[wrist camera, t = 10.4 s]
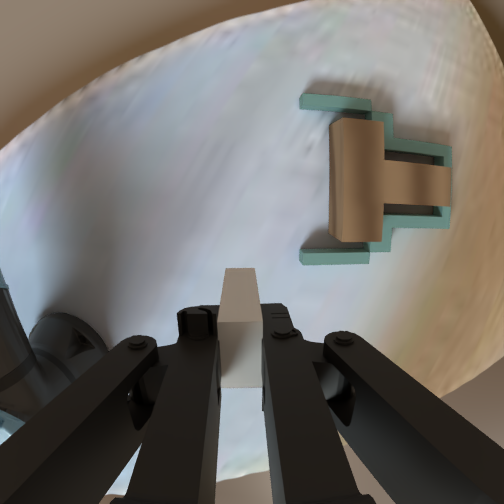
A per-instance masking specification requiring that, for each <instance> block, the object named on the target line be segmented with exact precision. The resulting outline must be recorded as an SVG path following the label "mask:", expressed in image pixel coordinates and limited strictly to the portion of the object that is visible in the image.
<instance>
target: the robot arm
mask: <svg viewBox="0 0 504 504" xmlns="http://www.w3.org/2000/svg"><path fill="white" fill-rule="evenodd" d="M8 289H9V286H8V285H7V284H6V282H5V280H4V277H3V275H2V272H1V269H0V504H99V502H100V501H101V500H102V498H103V497H104V495H105V494H106V493H107V491H108V490H109V488H110V487H111V486H112V484H113V483H114V482H115V480H116V479H117V477H118V476H119V475H120V473H121V472H122V470H123V469H124V467H125V466H126V465H127V463H128V462H129V460H130V459H131V458H132V456H133V455H134V453H135V452H136V451H137V449H138V448H139V446H140V445H141V443H142V445H141V448H140V451H139V454H138V457H137V460H136V463H135V467H134V470H133V473H132V476H131V479H130V483H129V486H128V489H127V492H126V494H125V496H124V497H123V498H114V499H113V500H112V501H111V502H110V504H215V488H216V471H217V455H218V439H219V424H220V409H221V388H262V411H264V417H265V427H266V438H267V448H268V458H269V468H270V478H271V488H272V497H273V504H376V503H375V501H374V499H373V498H372V497H371V496H370V495H369V494H366V495H362V494H361V493H360V492H359V490H358V488H357V485H356V482H355V479H354V477H353V474H352V471H351V468H350V465H349V462H348V460H347V457H346V454H345V451H344V448H343V445H342V443H341V440H340V437H339V434H338V431H339V433H340V434H341V435H342V437H343V438H344V439H345V441H346V442H347V443H348V444H349V446H350V447H351V448H352V449H353V451H354V452H355V453H356V455H357V456H358V457H359V459H360V460H361V461H362V462H363V464H364V465H365V466H366V467H367V468H368V470H369V471H370V472H371V474H372V475H373V476H374V477H375V479H376V480H377V481H378V482H379V484H380V485H381V486H382V487H383V489H384V490H385V491H386V492H387V494H388V495H389V496H390V497H391V499H392V500H393V501H394V502H395V503H396V504H504V449H503V448H502V447H500V446H499V445H498V444H497V443H495V442H494V441H493V440H491V439H490V438H489V437H488V436H486V435H485V434H484V433H483V432H481V431H480V430H479V429H478V428H476V427H475V426H474V425H472V424H471V423H470V422H469V421H467V420H466V419H465V418H464V417H462V416H461V415H460V414H458V413H457V412H456V411H455V410H453V409H452V408H451V407H449V406H448V405H447V404H446V403H444V402H443V401H442V400H441V399H439V398H438V397H437V396H435V395H434V394H433V393H432V392H430V391H429V390H428V389H427V388H425V387H424V386H423V385H421V384H420V383H419V382H418V381H416V380H415V379H414V378H413V377H411V376H410V375H409V374H407V373H406V372H405V371H404V370H402V369H401V368H400V367H399V366H397V365H396V364H395V363H393V362H392V361H391V360H390V359H388V358H387V357H386V356H384V355H383V354H382V353H381V352H379V351H378V350H377V349H376V348H374V347H373V346H372V345H370V344H369V343H368V342H367V341H365V340H364V339H363V338H362V337H360V336H358V335H357V334H355V333H351V332H349V331H345V332H344V331H339V332H332V333H329V334H328V335H326V336H325V339H324V343H316V342H310V341H306V340H304V339H303V336H302V334H301V332H300V331H299V330H297V329H295V328H294V326H293V323H292V321H291V318H290V315H289V312H288V309H287V307H285V306H284V305H283V304H281V303H271V304H260V299H259V293H258V286H257V280H256V274H255V268H226V270H225V276H224V282H223V288H222V295H221V301H220V305H200V306H195V307H188V308H184V309H182V310H180V311H179V312H178V313H177V320H178V330H179V337H178V340H177V343H175V344H172V345H167V346H161V347H157V343H156V340H155V339H154V338H152V337H149V336H142V335H137V336H136V335H135V336H132V337H129V338H126V339H124V340H123V341H121V342H120V343H119V344H117V345H116V346H115V347H114V348H113V349H112V350H110V351H109V352H108V349H107V347H106V345H105V344H104V342H103V341H102V339H101V338H100V336H99V335H98V334H97V333H96V332H95V331H94V330H93V329H92V328H91V327H90V326H89V325H88V324H86V323H85V322H83V321H82V320H80V319H79V318H77V317H74V316H72V315H69V314H65V313H53V314H49V315H47V316H45V317H44V318H42V319H41V320H40V321H39V322H38V323H36V325H35V326H34V327H33V328H32V330H31V332H30V335H29V339H28V338H27V336H26V334H25V332H24V329H23V327H22V325H21V322H20V320H19V317H18V315H17V312H16V310H15V307H14V304H13V301H12V299H11V296H10V293H9V290H8ZM128 393H129V395H128ZM337 430H338V431H337Z"/></svg>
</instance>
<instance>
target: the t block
mask: <svg viewBox="0 0 504 504" xmlns="http://www.w3.org/2000/svg"><path fill="white" fill-rule="evenodd" d="M329 155H330V181H329V231H328V233H329V234H330V235H332V236H334V237H335V238H337V239H338V240H340V241H341V242H382V230H383V211H384V203H389V204H411V205H430V206H446V207H450V203H451V168H450V167H443V166H436V165H428V164H419V163H410V162H401V161H390V160H384V122H381V121H372V120H363V119H354V118H341V119H340V120H338V121H336V122H334V123H333V124H331V125H329Z"/></svg>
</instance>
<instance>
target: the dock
mask: <svg viewBox="0 0 504 504" xmlns="http://www.w3.org/2000/svg"><path fill="white" fill-rule="evenodd" d="M299 101H300V109H306V110H322V111H335V112H346V113H356V114H365V120H372V121H381V122H384V151H388V152H398V153H407V154H415V155H423V156H430V157H434V165H436V166H443V167H450V168H451V190H452V147H451V146H446V145H440V144H434V143H428V142H421V141H414V140H407V139H399V138H394V136H393V114H390V113H383V112H376V111H372V107H371V100H368V99H360V98H352V97H342V96H332V95H320V94H305V93H303V94H302V95H301V97H300V98H299ZM450 212H451V203H450V207H446V206H433V215H425V214H397V213H383V230H382V242H363V248H339V249H300V254H299V261H300V262H301V263H302V265H339V264H369V258H370V252H390V250H391V236H392V228H440V229H449V227H450Z"/></svg>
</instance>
